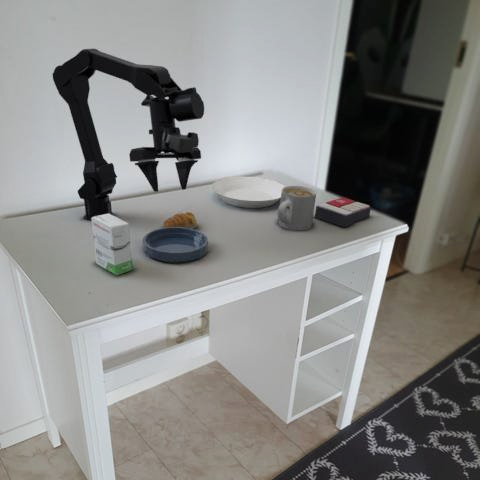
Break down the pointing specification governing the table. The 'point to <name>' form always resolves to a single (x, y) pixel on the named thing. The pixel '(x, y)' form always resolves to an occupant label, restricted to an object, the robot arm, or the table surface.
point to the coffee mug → (296, 207)
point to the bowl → (248, 191)
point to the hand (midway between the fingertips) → (170, 190)
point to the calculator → (342, 211)
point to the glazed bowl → (175, 244)
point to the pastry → (181, 221)
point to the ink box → (112, 243)
